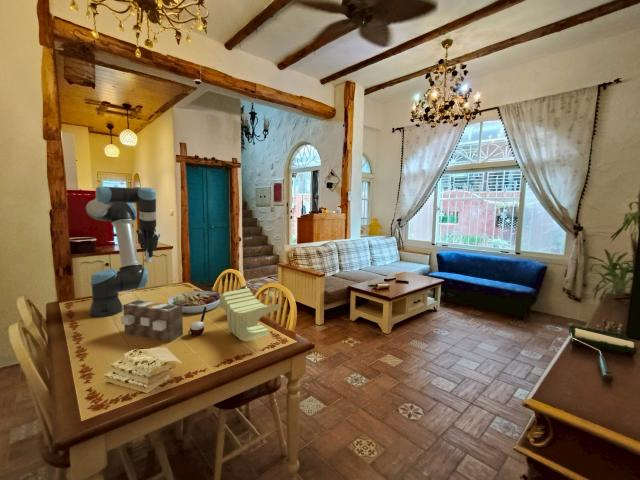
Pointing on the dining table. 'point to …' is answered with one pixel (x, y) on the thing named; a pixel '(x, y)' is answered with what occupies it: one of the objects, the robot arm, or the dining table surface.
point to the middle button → (145, 321)
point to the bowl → (195, 301)
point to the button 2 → (159, 325)
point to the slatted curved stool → (245, 314)
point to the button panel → (154, 312)
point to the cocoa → (197, 326)
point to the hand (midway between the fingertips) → (148, 262)
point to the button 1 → (128, 319)
